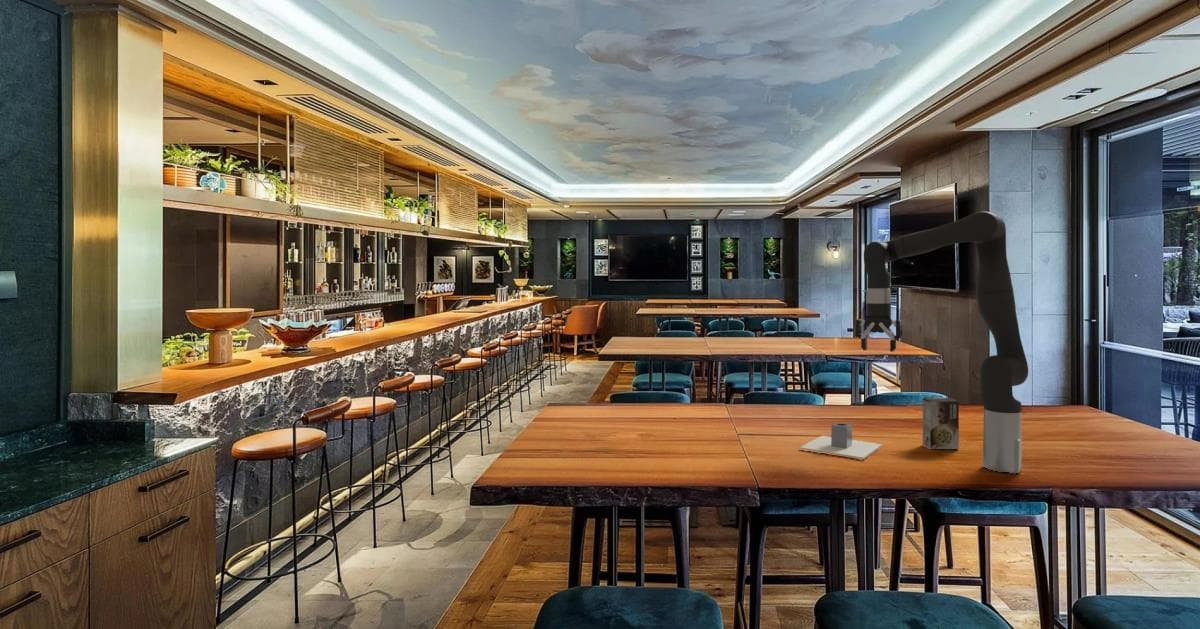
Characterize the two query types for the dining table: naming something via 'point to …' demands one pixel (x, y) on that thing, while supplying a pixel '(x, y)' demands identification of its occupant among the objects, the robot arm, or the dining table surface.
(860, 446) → the pin plate
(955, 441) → the coffee box
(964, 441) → the dining table surface
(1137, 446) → the dining table surface
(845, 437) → the block
